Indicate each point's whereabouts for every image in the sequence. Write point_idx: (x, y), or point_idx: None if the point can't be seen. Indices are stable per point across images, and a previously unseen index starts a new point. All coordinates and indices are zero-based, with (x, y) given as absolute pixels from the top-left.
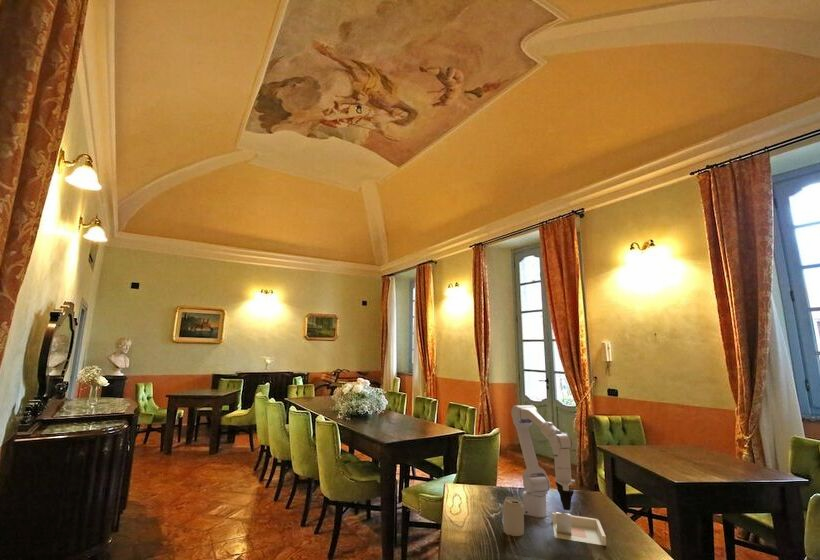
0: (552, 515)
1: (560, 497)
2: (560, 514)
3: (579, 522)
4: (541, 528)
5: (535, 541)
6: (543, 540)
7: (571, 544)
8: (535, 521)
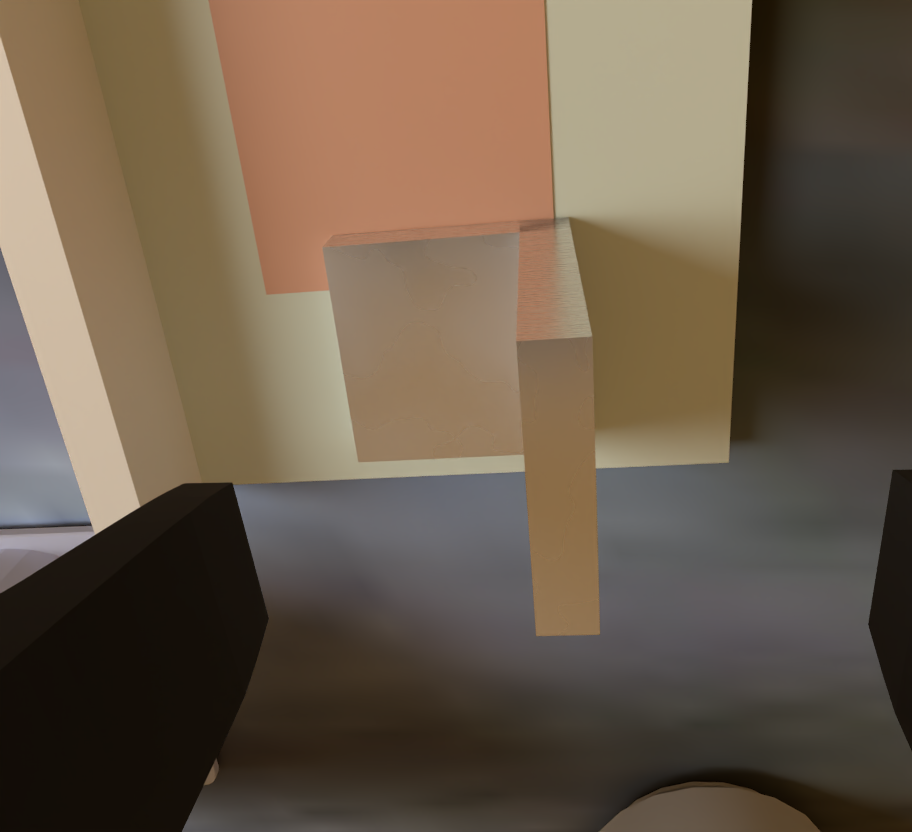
0: None
1: (209, 754)
2: (593, 546)
3: (59, 55)
4: (411, 594)
5: (821, 657)
6: (762, 575)
7: (770, 214)
8: None
